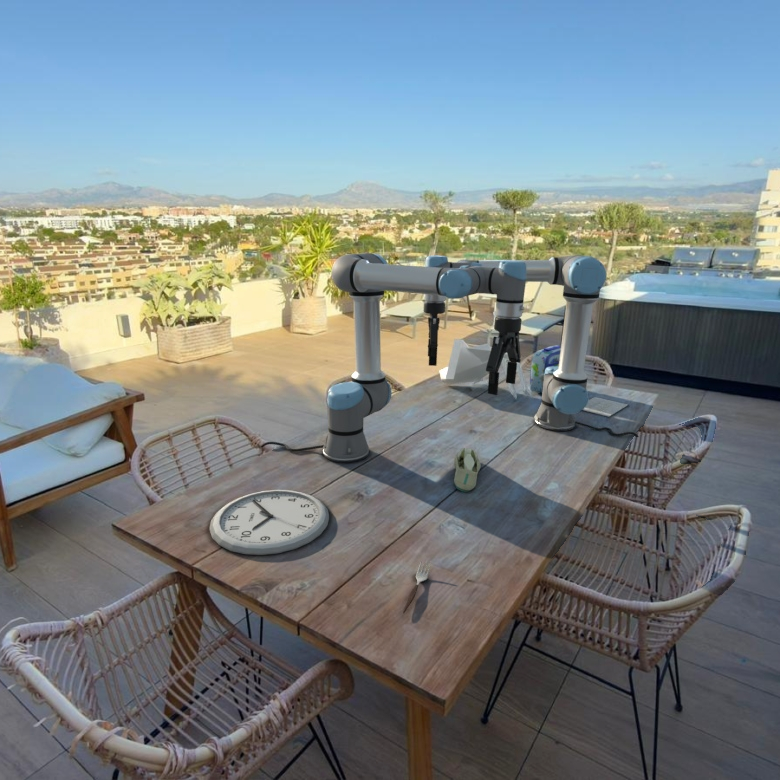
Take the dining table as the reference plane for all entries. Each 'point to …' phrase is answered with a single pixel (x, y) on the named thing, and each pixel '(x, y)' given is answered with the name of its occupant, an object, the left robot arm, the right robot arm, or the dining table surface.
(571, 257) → the right robot arm
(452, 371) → the white plastic object
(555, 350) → the lunch box
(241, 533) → the wall clock
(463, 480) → the ballet flat
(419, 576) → the fork
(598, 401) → the invitation card
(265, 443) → the left robot arm
